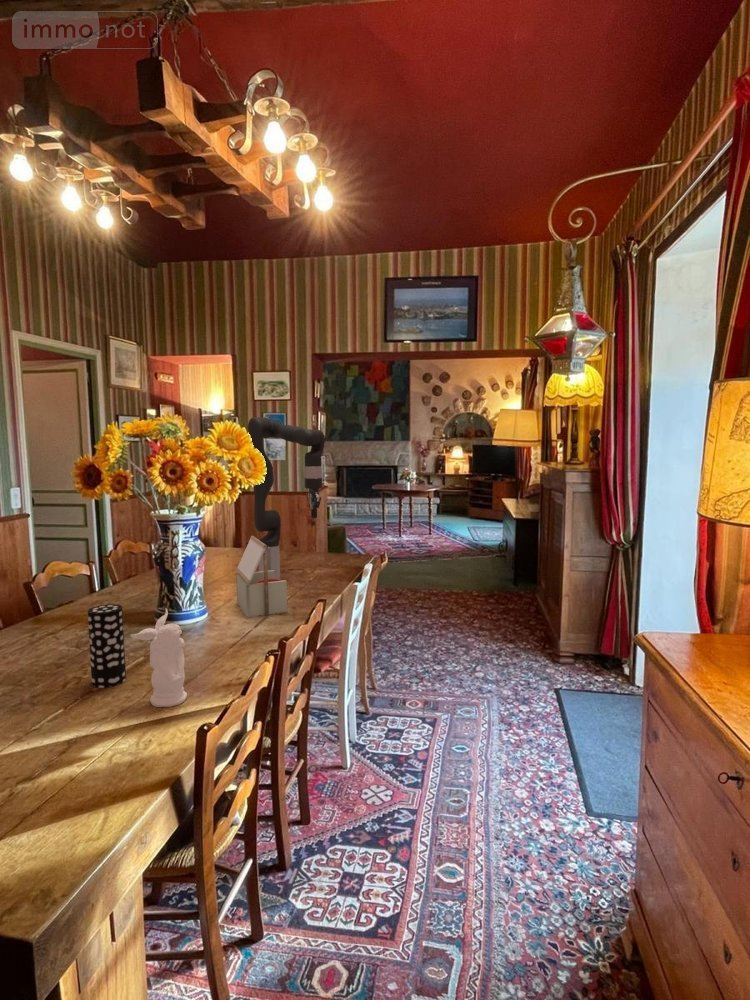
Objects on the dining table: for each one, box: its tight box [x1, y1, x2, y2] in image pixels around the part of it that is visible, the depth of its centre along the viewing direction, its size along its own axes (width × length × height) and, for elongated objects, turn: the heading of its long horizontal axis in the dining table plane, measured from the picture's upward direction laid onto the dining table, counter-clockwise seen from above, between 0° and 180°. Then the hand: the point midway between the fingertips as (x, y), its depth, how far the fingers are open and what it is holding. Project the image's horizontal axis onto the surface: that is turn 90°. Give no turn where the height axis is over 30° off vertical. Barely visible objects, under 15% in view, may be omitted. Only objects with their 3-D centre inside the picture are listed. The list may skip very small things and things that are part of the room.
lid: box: [235, 535, 267, 584], centre depth 213 cm, size 23×15×1 cm
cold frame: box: [235, 570, 288, 618], centre depth 216 cm, size 20×15×12 cm
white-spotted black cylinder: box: [87, 603, 127, 689], centre depth 149 cm, size 8×8×20 cm
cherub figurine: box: [130, 607, 188, 708], centre depth 137 cm, size 12×12×22 cm
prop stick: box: [263, 553, 270, 617], centre depth 205 cm, size 1×1×24 cm
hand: (314, 517), depth 237 cm, fingers closed
